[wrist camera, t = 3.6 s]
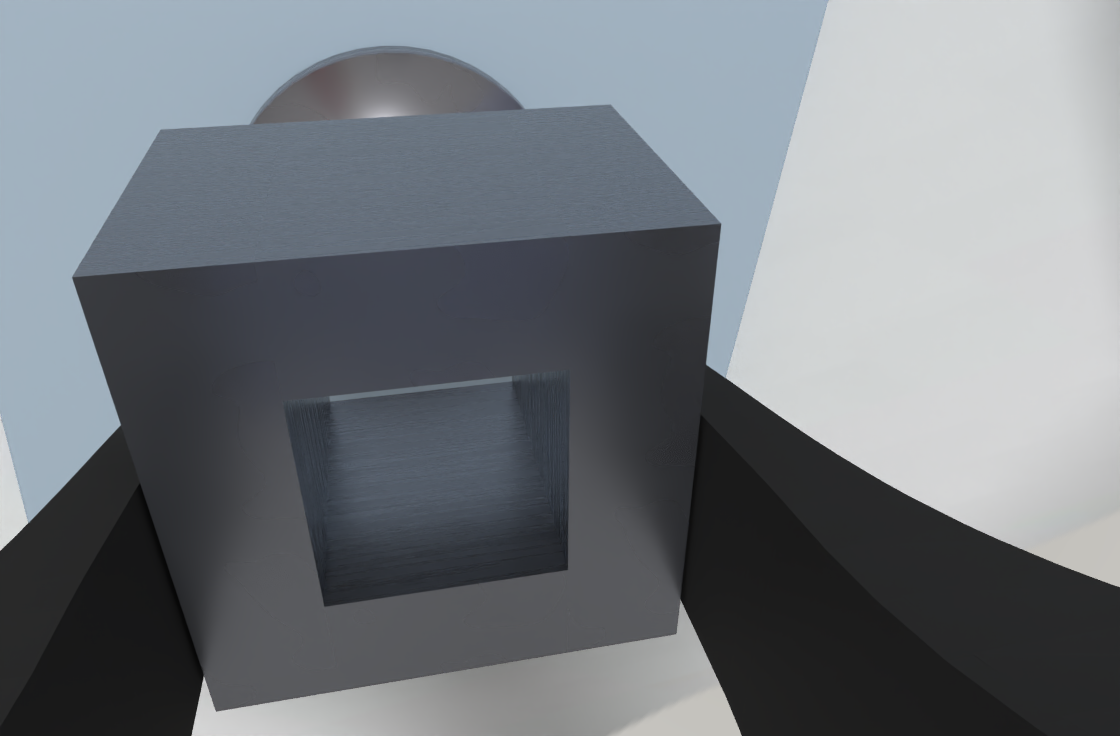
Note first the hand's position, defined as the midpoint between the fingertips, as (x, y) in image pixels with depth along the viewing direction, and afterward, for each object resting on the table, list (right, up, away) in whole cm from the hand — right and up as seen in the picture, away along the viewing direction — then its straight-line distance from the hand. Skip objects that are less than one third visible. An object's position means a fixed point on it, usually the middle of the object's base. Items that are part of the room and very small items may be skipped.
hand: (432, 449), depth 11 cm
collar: (0, +2, +1) cm, 2 cm away
